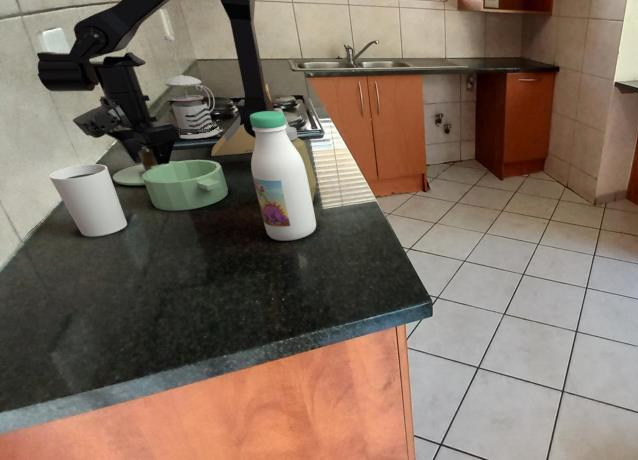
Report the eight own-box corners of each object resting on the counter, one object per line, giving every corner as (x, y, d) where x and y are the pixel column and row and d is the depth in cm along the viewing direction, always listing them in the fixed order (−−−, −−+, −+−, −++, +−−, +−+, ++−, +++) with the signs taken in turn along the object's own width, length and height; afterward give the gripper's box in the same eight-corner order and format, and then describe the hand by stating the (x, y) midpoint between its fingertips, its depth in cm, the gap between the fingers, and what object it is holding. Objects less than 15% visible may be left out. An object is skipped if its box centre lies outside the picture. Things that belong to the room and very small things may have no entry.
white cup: (139, 218, 74) (117, 164, 69) (113, 237, 68) (87, 179, 64) (96, 219, 73) (71, 164, 68) (66, 238, 67) (36, 179, 63)
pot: (195, 178, 91) (187, 153, 88) (250, 196, 84) (243, 170, 82) (130, 198, 81) (119, 170, 78) (187, 219, 75) (176, 190, 72)
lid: (169, 161, 98) (161, 138, 95) (204, 173, 93) (197, 148, 91) (101, 179, 88) (89, 153, 85) (137, 193, 83) (126, 165, 80)
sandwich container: (213, 146, 109) (195, 85, 102) (279, 140, 116) (267, 83, 109) (210, 156, 103) (191, 92, 95) (281, 150, 109) (268, 89, 102)
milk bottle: (306, 216, 78) (284, 106, 68) (324, 232, 73) (303, 115, 64) (260, 229, 73) (229, 111, 63) (276, 247, 68) (246, 123, 59)
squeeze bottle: (302, 213, 79) (282, 116, 70) (264, 207, 80) (240, 111, 71) (328, 196, 86) (312, 106, 77) (292, 191, 87) (273, 102, 78)
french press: (167, 135, 115) (133, 34, 103) (207, 125, 125) (180, 32, 113) (195, 140, 112) (163, 37, 100) (233, 130, 122) (208, 35, 110)
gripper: (43, 90, 79) (80, 169, 87) (97, 104, 72) (132, 188, 80) (114, 82, 88) (142, 155, 95) (168, 94, 81) (193, 171, 89)
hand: (151, 167), depth 90 cm, fingers open, 9 cm apart
